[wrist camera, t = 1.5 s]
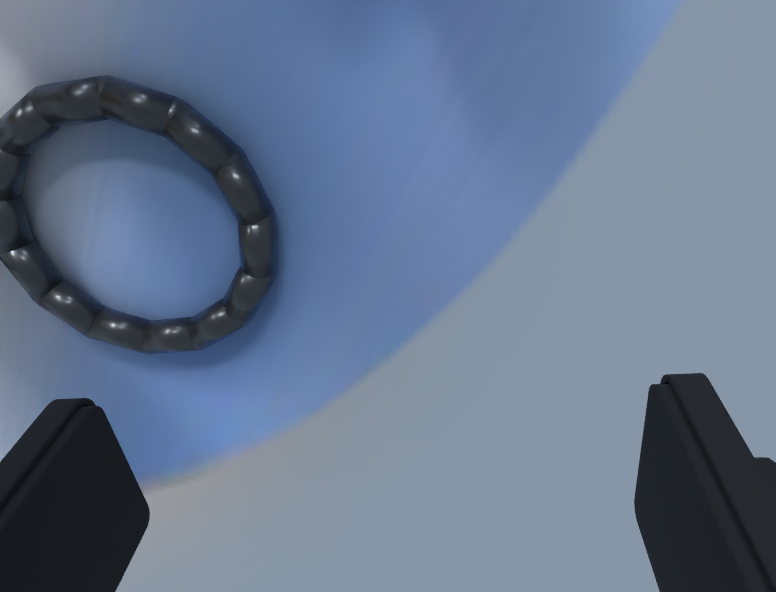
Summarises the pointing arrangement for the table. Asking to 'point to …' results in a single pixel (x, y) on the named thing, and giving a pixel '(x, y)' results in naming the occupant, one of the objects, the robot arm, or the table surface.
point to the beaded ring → (192, 136)
